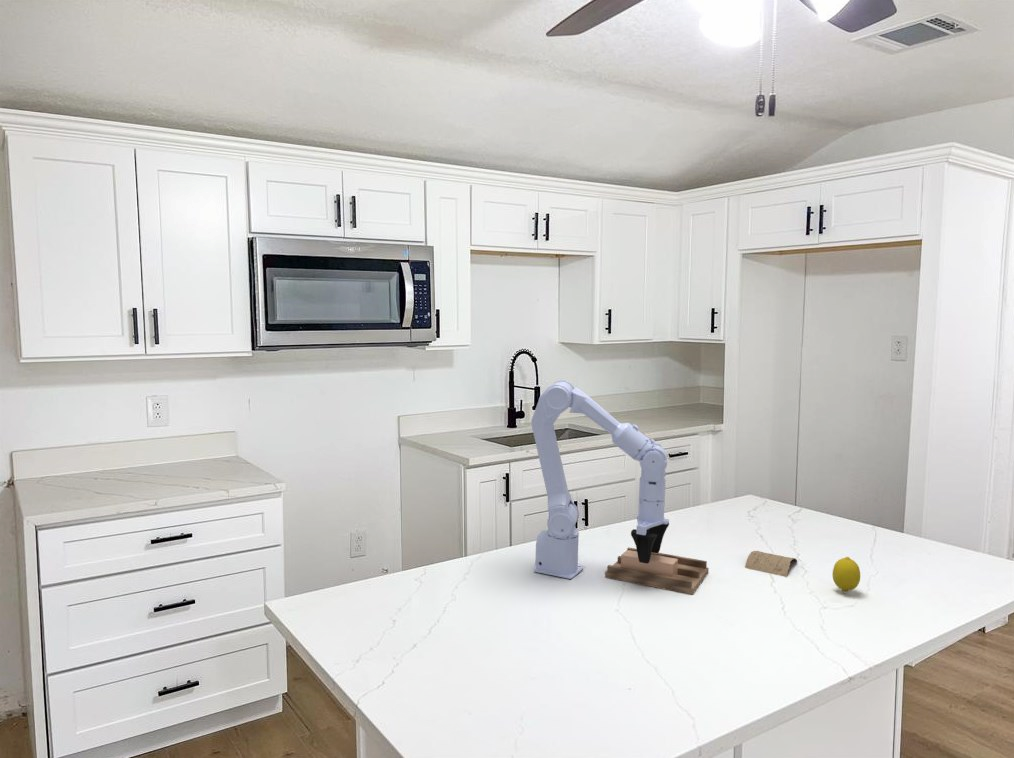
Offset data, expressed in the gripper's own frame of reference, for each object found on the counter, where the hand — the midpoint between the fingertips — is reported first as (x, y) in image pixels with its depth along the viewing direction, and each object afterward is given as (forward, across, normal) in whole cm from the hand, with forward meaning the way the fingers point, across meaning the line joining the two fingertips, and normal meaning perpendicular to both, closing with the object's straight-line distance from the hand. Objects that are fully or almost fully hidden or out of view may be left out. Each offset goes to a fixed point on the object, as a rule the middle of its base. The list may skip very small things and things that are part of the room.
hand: (649, 557), depth 170 cm
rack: (+5, +4, -1) cm, 6 cm away
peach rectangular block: (+4, 0, 0) cm, 4 cm away
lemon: (+5, +14, -40) cm, 43 cm away
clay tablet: (+6, +24, -23) cm, 34 cm away
